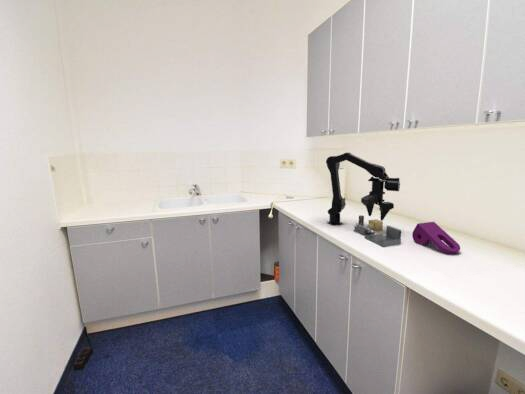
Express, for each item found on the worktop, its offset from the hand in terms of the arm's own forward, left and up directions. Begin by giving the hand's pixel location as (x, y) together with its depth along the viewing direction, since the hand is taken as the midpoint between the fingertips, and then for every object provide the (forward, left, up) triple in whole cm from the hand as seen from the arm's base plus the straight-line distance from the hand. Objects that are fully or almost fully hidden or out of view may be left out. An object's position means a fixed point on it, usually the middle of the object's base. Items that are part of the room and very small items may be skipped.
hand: (375, 218), depth 145 cm
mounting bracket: (+30, +8, -7) cm, 32 cm away
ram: (+4, -9, -5) cm, 11 cm away
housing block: (0, 0, -6) cm, 7 cm away
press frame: (+10, -8, -6) cm, 14 cm away
